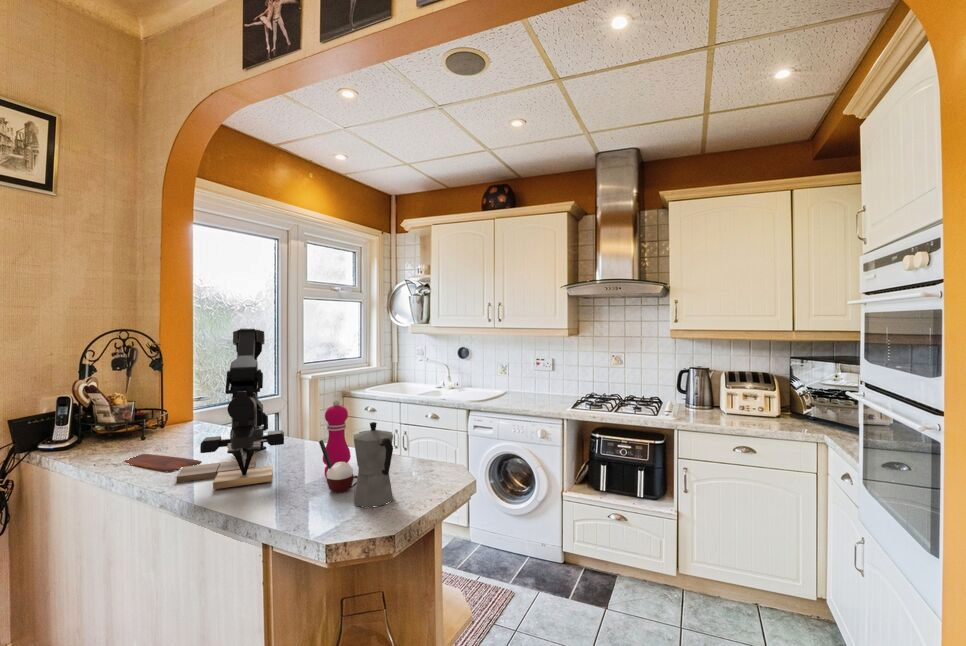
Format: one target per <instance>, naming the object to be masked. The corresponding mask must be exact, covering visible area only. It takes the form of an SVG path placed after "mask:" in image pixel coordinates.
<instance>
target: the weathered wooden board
mask: <svg viewBox="0 0 966 646" xmlns="http://www.w3.org/2000/svg"><path fill="white" fill-rule="evenodd" d="M256 459H257V458H251V461H250V464H249V467H248V469H250V468H256V465H257V463H256V462H257V460H256ZM245 461H246V458H245V459H244V466H245ZM235 470H240V467H239V465H238V462H237V460H230V461H228V460H227V461H221V462H212V463H203V464H198V465H194V466H186V467H183V468H182V469H180V471H179V473H178V474H177V475H176V483H177V482H180V483H184V482H183V481H188V482H192V481H191V480H195V481H200V480H199V479H203V480H209V479H215V478H216V476H217V474H218V473H219V472H227V471H235Z"/></svg>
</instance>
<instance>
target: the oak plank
mask: <svg viewBox="0 0 966 646" xmlns="http://www.w3.org/2000/svg"><path fill="white" fill-rule="evenodd" d="M273 467H274V466H273V465H267V466H261V467H255V468H250V469H248V470H247V473H246V475H242V472H241V470H235V471H227V472H219V473H218V474H217V476H216V478H214V480H213V482H212V490H218V489H224V488H231V487H239V486H240V487H241V486H246V485H254V484H255V485H256V484H259V483H261V484H262V483H269V482H273V474H274V472H273V469H274V468H273Z"/></svg>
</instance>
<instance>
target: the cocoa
mask: <svg viewBox="0 0 966 646" xmlns="http://www.w3.org/2000/svg"><path fill="white" fill-rule="evenodd" d="M318 443H319V446H320V449H321V452H322V455H323V454H324V457H325V460H326V462H327V465H328V471H327V473H326V474H327V476H326V482H327V483H326V484H327V486H328V489H329V490H330V492H333V493H335V492H336V493H337V494H340V493H339V492H341V493H344V491H345V492H346V491H349V489H352V488H354V487H356V483H357V481H356V482H355V483H354V479H357V477H358V475H354V471H353V470H354V469H353V467H352V465H351V464H350V463H349V462H348V463H346V462H337V463H335V464H334V465H333V466H332V464H331V461H330V458H329V456H328V453H327V450H326V446H325V442H324V440H323V439H320V440H319V442H318ZM327 465H326V466H327Z"/></svg>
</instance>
